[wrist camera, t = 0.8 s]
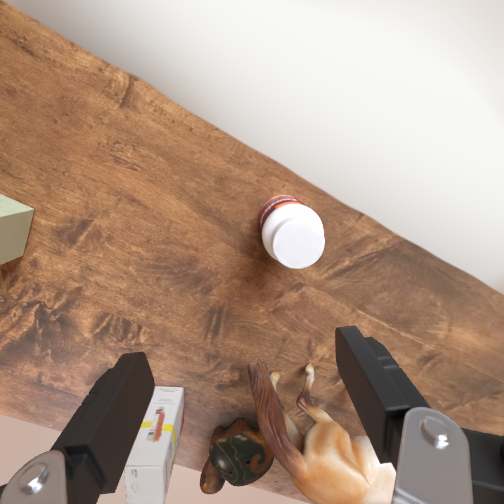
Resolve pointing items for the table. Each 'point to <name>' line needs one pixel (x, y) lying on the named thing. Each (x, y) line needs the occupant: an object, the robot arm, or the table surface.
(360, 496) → the horse figurine
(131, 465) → the ink box
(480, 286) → the table surface
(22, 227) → the block
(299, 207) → the pill bottle
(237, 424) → the decorative turtle
